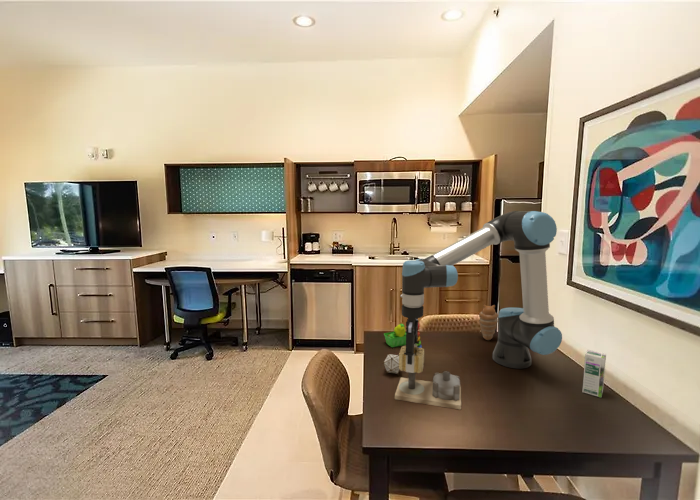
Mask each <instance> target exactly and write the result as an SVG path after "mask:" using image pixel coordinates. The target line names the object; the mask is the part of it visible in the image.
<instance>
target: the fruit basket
mask: <svg viewBox="0 0 700 500" xmlns="http://www.w3.org/2000/svg"><path fill="white" fill-rule="evenodd" d="M383 335H384V339H385V342H386V344H387V345H388V346H389V347H391V348H397V347H402V346H406V327H405V325H404V324H403V323H399V324H397V326H395V327H394V328H393V331H390V332H385V333H383Z"/></svg>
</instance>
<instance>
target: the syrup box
mask: <svg viewBox="0 0 700 500" xmlns="http://www.w3.org/2000/svg"><path fill="white" fill-rule="evenodd" d="M606 360H607V353H605V352H600V351H595V350H590V349H587V350H586V352H585V355H584V364H583V369H584V370H583V379H582V380H583V381H582V390H581V391H582V393H583V394H587V395H590V396H594V397H598V398H602V397H603V393H604V385H605V384H604V382H605V372H606Z"/></svg>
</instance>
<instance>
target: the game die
mask: <svg viewBox="0 0 700 500" xmlns="http://www.w3.org/2000/svg"><path fill="white" fill-rule="evenodd" d="M381 364H383V366H384V368H385V374H386V375H387V374H388V373H389V374H395V375H397V376H398V377H399V376H400V374H399V373H400V372H401V370H400V369H399V354H393V353H389V351H388V352H387V356H386V358H385V359H384V361H382V362H381Z"/></svg>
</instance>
